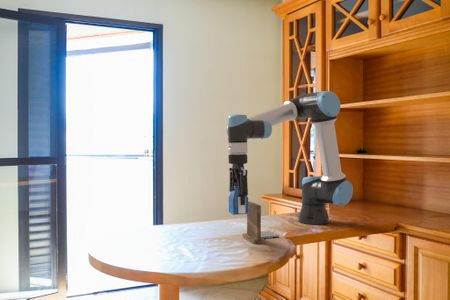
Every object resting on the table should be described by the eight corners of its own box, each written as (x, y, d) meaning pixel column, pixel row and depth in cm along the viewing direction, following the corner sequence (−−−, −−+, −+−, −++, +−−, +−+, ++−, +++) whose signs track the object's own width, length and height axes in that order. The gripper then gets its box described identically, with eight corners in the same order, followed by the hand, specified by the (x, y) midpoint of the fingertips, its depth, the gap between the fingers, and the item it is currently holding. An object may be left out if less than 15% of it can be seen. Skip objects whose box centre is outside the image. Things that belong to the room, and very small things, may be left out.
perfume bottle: (233, 214, 153) (232, 184, 153) (228, 212, 159) (228, 182, 159) (248, 213, 155) (248, 183, 154) (243, 211, 161) (243, 181, 160)
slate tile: (269, 232, 175) (269, 230, 175) (278, 237, 166) (279, 235, 166) (250, 234, 172) (250, 232, 172) (259, 239, 163) (259, 237, 163)
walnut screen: (253, 236, 168) (253, 201, 168) (265, 243, 157) (265, 205, 156) (242, 237, 166) (242, 201, 166) (253, 244, 155) (254, 206, 155)
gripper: (220, 153, 164) (221, 208, 165) (238, 154, 146) (238, 216, 146) (237, 152, 166) (238, 207, 167) (256, 154, 148) (257, 215, 149)
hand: (238, 211), depth 157 cm, fingers closed on perfume bottle, 6 cm apart
